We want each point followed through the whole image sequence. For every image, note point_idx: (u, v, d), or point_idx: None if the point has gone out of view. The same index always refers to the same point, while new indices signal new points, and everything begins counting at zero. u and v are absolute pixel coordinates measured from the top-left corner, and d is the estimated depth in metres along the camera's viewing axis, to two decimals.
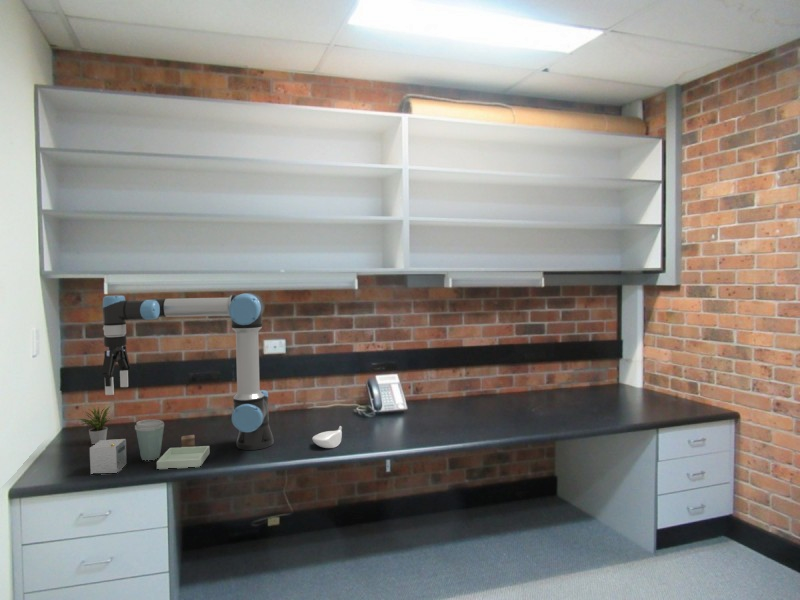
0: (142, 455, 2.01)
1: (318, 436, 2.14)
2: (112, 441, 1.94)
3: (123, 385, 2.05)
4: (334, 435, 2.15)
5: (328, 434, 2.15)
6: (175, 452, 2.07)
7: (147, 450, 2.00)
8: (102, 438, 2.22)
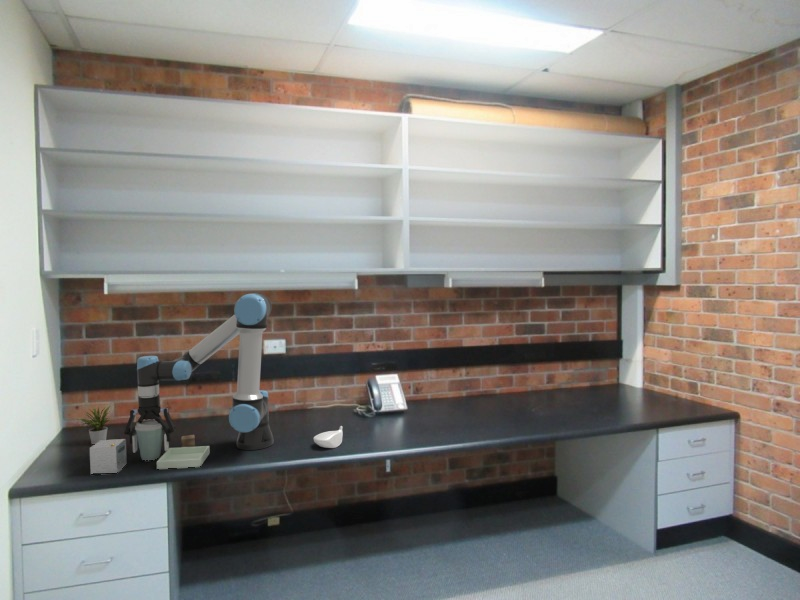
0: (142, 455, 2.01)
1: (319, 436, 2.14)
2: (112, 441, 1.94)
3: None
4: (335, 435, 2.15)
5: (329, 434, 2.15)
6: (175, 452, 2.07)
7: (147, 450, 2.00)
8: (102, 438, 2.22)
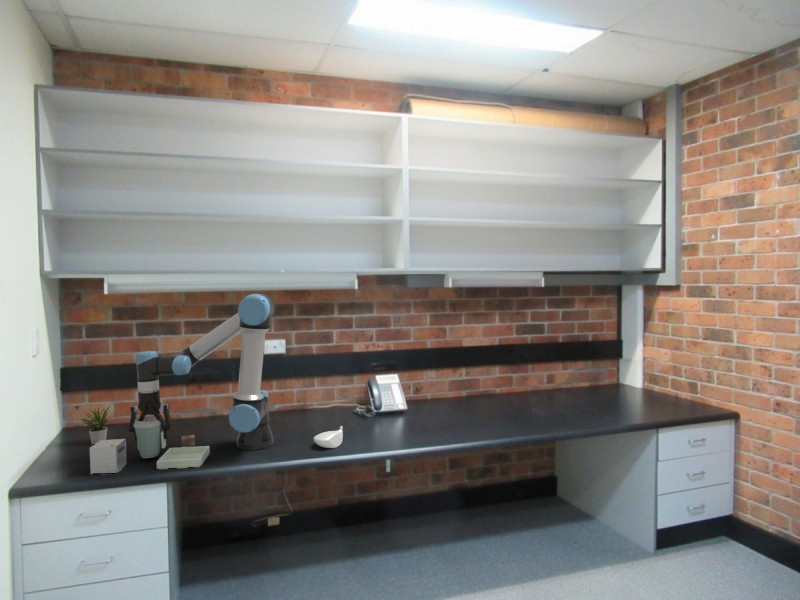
0: (141, 452, 2.01)
1: (319, 436, 2.14)
2: (112, 441, 1.94)
3: None
4: (335, 435, 2.15)
5: (329, 434, 2.15)
6: (175, 452, 2.07)
7: (146, 447, 2.00)
8: (102, 438, 2.22)
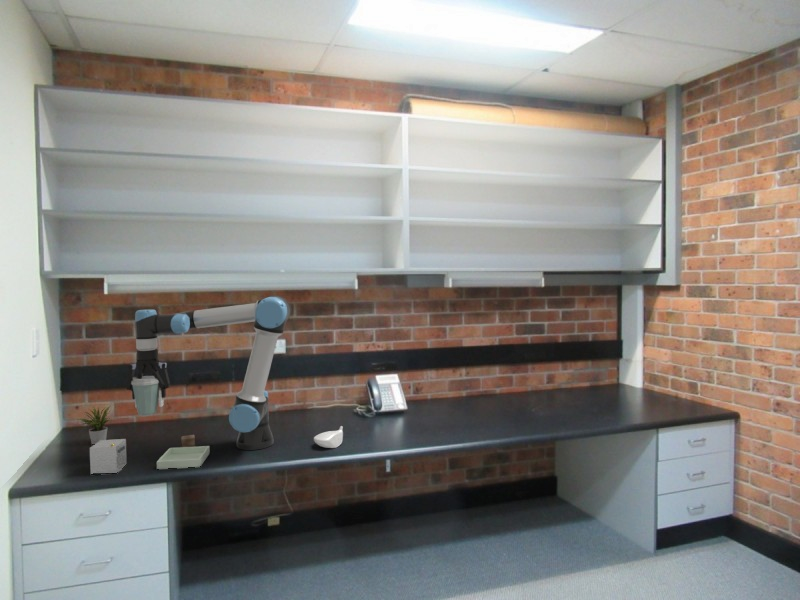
0: (139, 410, 2.00)
1: (320, 436, 2.14)
2: (112, 441, 1.94)
3: None
4: (336, 435, 2.15)
5: (330, 434, 2.15)
6: (175, 452, 2.07)
7: (144, 405, 1.99)
8: (102, 438, 2.22)
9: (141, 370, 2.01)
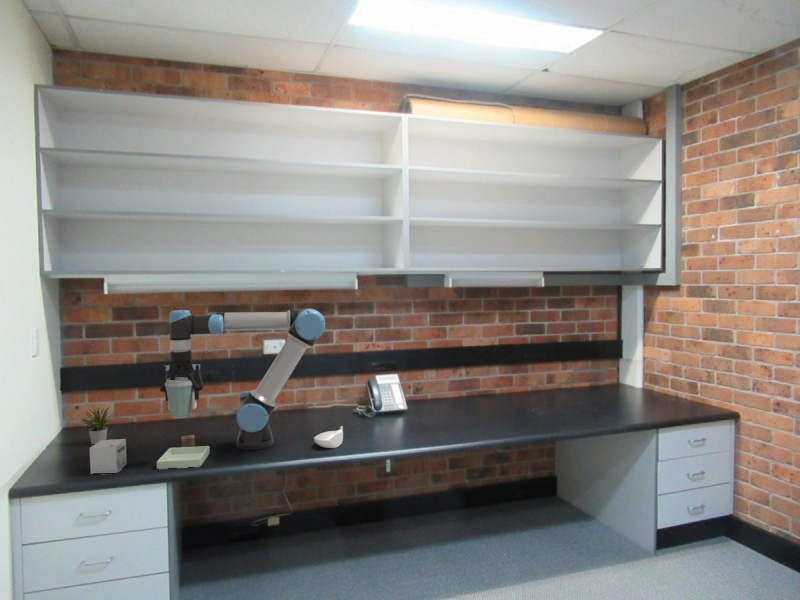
0: (172, 412, 1.97)
1: (320, 436, 2.14)
2: (112, 441, 1.94)
3: None
4: (336, 435, 2.15)
5: (330, 434, 2.15)
6: (175, 452, 2.07)
7: (177, 407, 1.96)
8: (102, 438, 2.22)
9: (175, 372, 1.97)
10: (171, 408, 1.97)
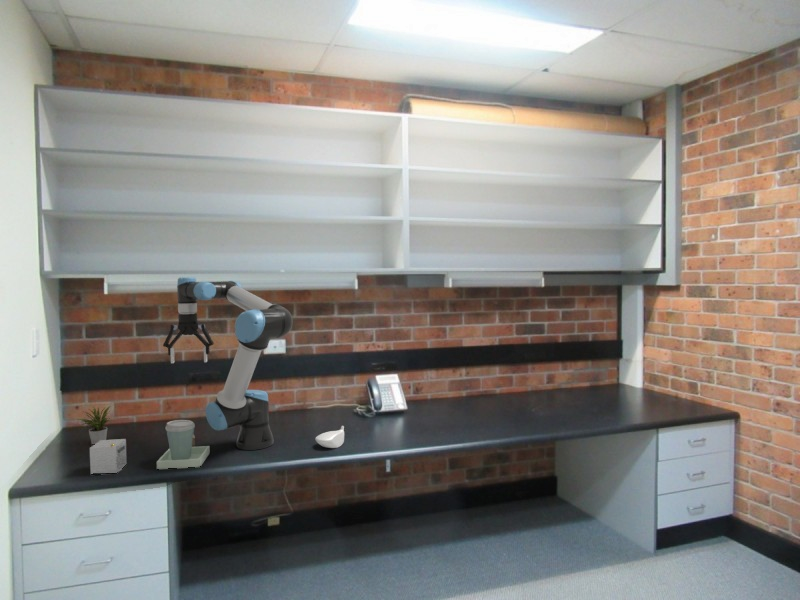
0: (173, 456, 1.98)
1: (322, 436, 2.14)
2: (112, 441, 1.94)
3: None
4: (337, 435, 2.16)
5: (331, 434, 2.15)
6: None
7: (178, 451, 1.97)
8: (102, 438, 2.22)
9: (181, 331, 2.20)
10: (172, 452, 1.98)
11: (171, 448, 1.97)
